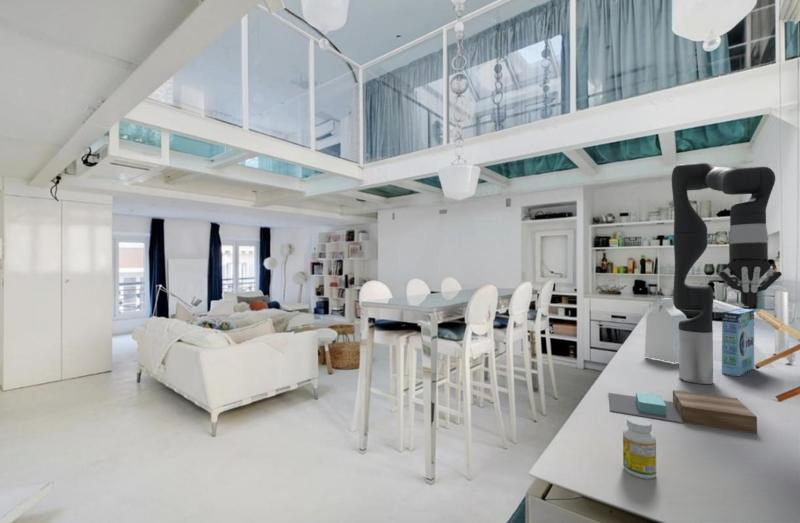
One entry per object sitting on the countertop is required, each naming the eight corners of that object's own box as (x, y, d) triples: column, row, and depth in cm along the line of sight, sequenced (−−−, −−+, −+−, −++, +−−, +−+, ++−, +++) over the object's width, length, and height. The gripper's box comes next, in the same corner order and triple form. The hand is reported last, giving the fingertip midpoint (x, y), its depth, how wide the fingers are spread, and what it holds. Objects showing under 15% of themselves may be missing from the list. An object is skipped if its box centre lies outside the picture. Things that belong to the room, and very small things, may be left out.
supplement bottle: (654, 483, 67) (654, 429, 67) (620, 472, 70) (620, 421, 70) (657, 470, 71) (657, 420, 71) (625, 461, 74) (625, 413, 74)
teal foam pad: (660, 395, 104) (660, 404, 104) (635, 391, 107) (635, 400, 107) (666, 405, 96) (666, 415, 96) (639, 401, 99) (639, 411, 99)
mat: (608, 393, 114) (608, 392, 114) (672, 402, 106) (672, 401, 106) (610, 411, 100) (610, 410, 100) (683, 423, 92) (683, 422, 92)
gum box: (738, 366, 146) (737, 308, 147) (755, 369, 142) (755, 309, 142) (721, 373, 136) (720, 311, 136) (739, 377, 131) (738, 313, 132)
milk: (674, 364, 148) (674, 300, 148) (644, 358, 158) (644, 298, 159) (690, 361, 154) (689, 299, 154) (660, 355, 164) (659, 297, 164)
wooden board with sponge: (672, 404, 105) (672, 389, 105) (737, 413, 99) (736, 398, 99) (682, 422, 93) (682, 406, 93) (757, 434, 86) (756, 417, 87)
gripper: (775, 241, 99) (776, 306, 99) (712, 243, 105) (713, 303, 105) (788, 240, 92) (789, 309, 92) (720, 241, 99) (720, 306, 99)
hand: (748, 306), depth 99 cm, fingers closed
